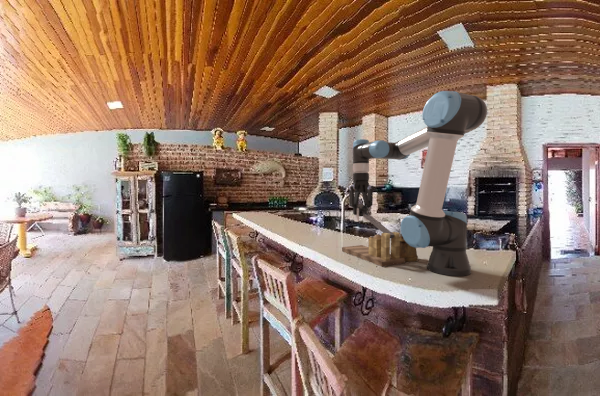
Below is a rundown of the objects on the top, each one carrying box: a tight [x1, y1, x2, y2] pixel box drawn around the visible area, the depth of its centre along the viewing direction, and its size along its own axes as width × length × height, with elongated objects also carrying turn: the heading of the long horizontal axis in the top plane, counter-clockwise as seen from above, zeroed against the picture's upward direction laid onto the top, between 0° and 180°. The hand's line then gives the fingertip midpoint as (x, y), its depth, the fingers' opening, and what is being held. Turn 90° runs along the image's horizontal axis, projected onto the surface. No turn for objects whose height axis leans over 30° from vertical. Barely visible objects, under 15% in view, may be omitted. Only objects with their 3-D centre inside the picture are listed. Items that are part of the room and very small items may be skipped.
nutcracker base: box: [341, 231, 406, 267], centre depth 138 cm, size 30×12×13 cm, turn 24°
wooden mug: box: [399, 233, 419, 263], centre depth 134 cm, size 9×14×18 cm, turn 129°
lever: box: [357, 203, 394, 239], centre depth 136 cm, size 26×4×4 cm, turn 25°
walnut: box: [373, 234, 381, 239], centre depth 133 cm, size 4×4×4 cm
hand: (361, 221), depth 144 cm, fingers closed on lever, 4 cm apart
